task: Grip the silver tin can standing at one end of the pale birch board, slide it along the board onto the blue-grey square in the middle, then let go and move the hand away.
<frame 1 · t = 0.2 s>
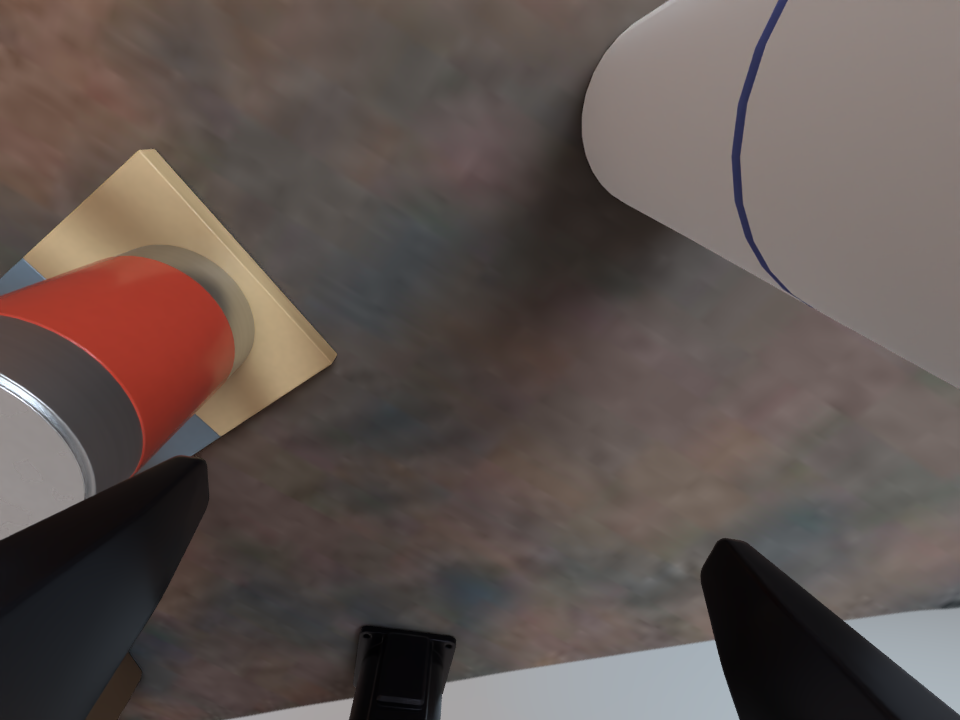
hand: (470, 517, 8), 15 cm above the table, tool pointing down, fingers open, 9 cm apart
beer bottle: (91, 660, 34), on the table
cylindrical container: (671, 115, 19), on the table
tin can: (181, 316, 21), point 1 cm above the table, touching board
board: (85, 391, 24), on the table
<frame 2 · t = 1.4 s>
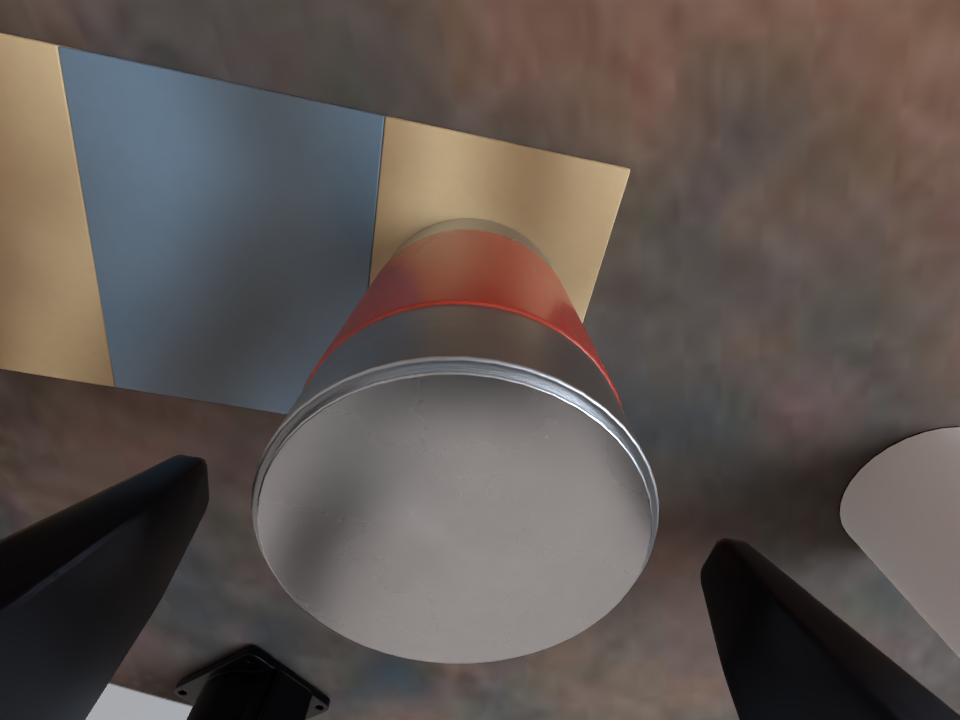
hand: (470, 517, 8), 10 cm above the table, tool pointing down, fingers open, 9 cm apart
cylindrical container: (919, 490, 22), on the table
tin can: (469, 312, 16), point 1 cm above the table, touching board
board: (245, 261, 17), on the table
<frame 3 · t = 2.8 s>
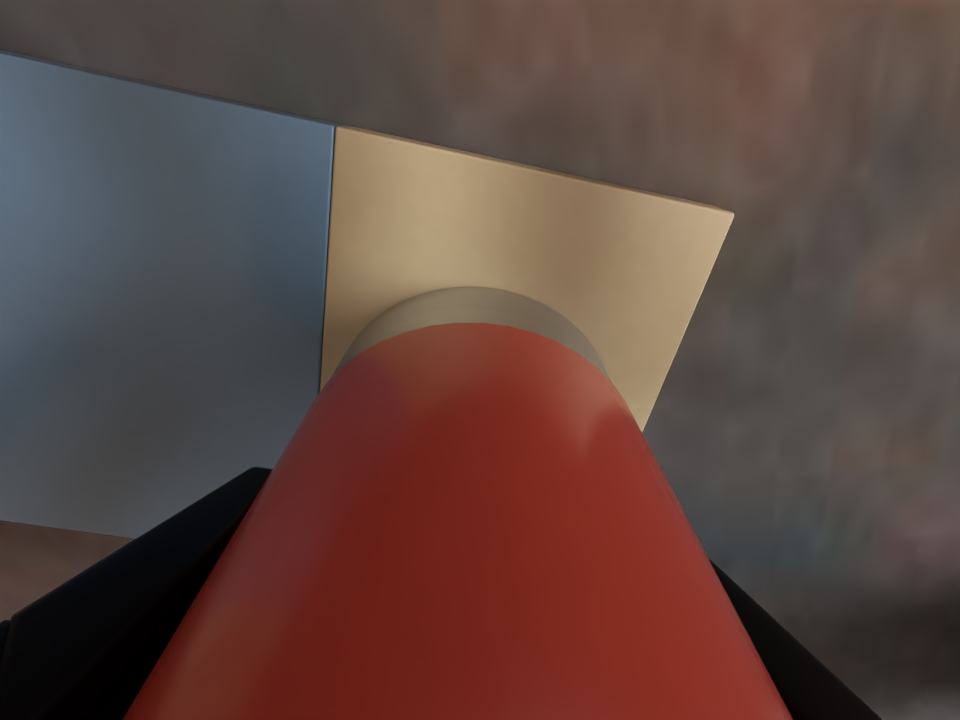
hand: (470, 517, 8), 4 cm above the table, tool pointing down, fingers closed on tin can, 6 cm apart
tin can: (471, 419, 11), point 1 cm above the table, touching board, gripper
board: (137, 339, 11), on the table
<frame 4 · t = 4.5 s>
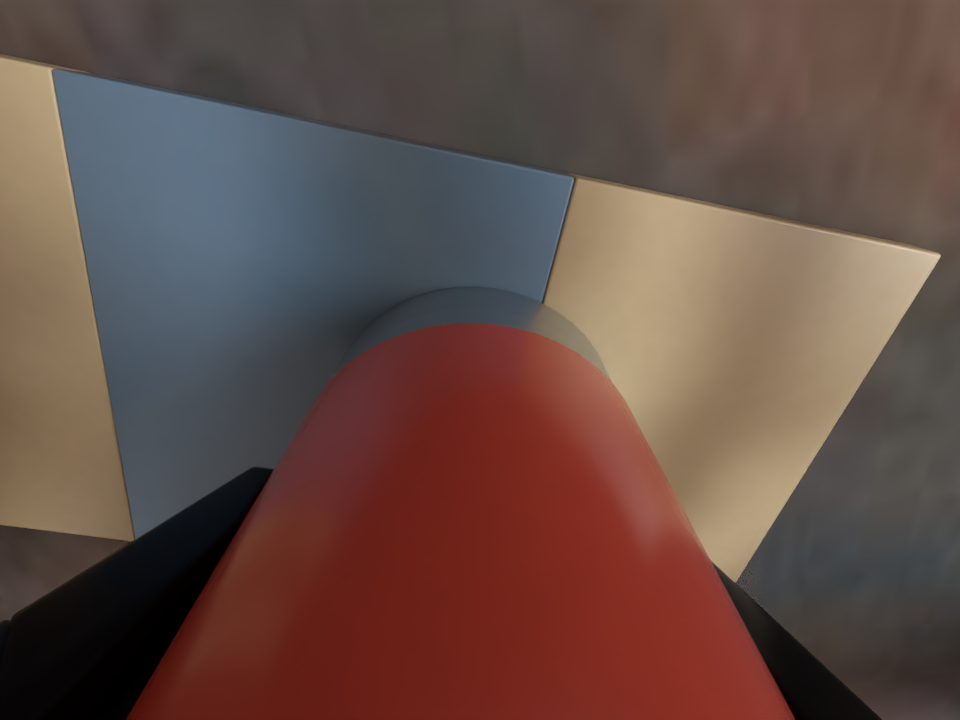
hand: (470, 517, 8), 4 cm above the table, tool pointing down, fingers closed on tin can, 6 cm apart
tin can: (472, 420, 11), point 1 cm above the table, touching gripper
board: (326, 373, 12), on the table
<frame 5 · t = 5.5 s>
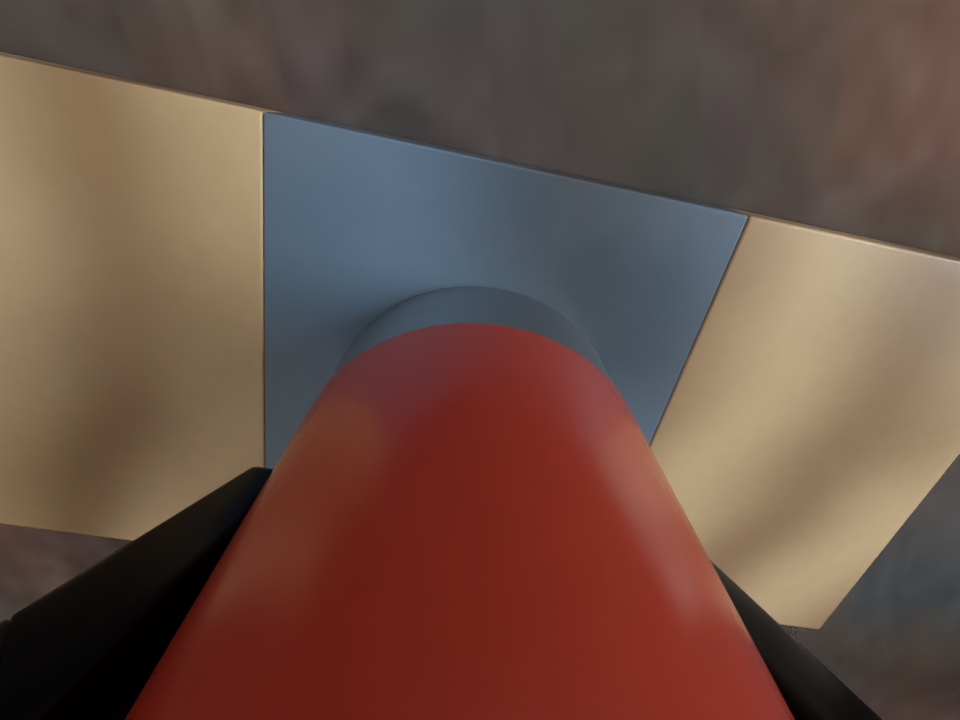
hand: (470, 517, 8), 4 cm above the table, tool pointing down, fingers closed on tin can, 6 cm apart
tin can: (471, 419, 11), point 1 cm above the table, touching gripper
board: (464, 395, 12), on the table
when the fingers open (4 cm above the table, at t = 6.2 s): tin can stays where it is, resting on board.
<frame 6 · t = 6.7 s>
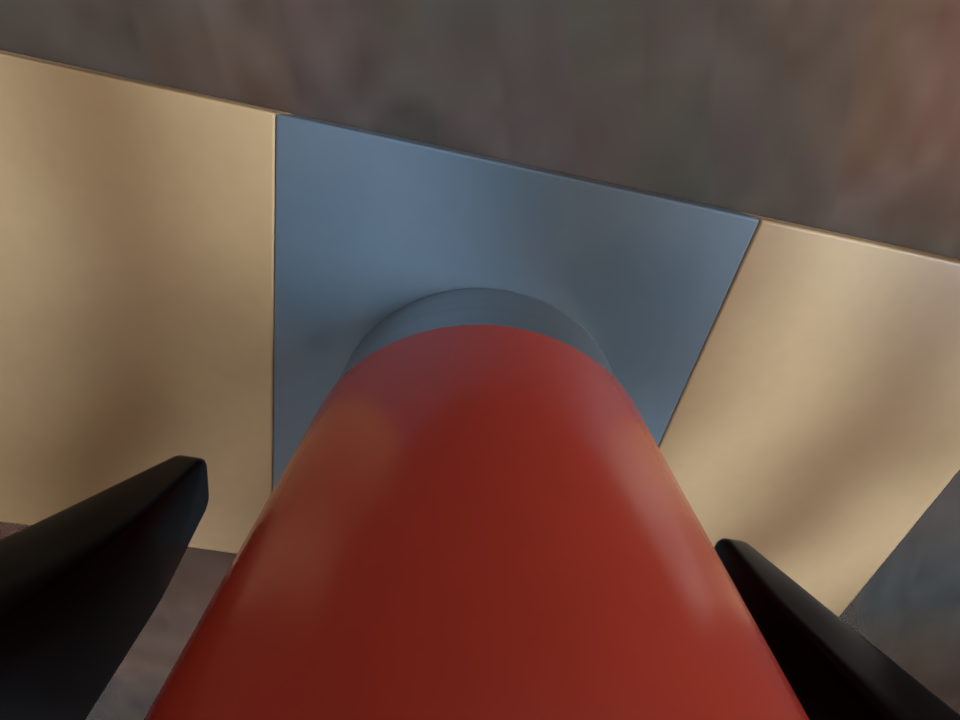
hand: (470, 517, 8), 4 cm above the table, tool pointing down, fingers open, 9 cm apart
tin can: (478, 421, 11), point 1 cm above the table, touching board
board: (472, 397, 12), on the table
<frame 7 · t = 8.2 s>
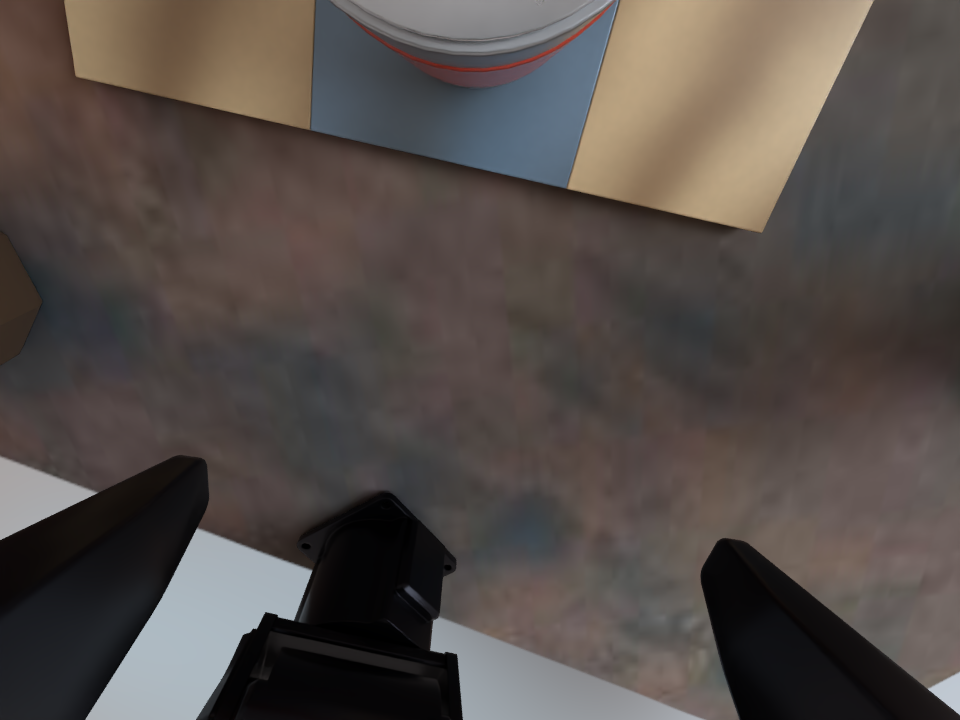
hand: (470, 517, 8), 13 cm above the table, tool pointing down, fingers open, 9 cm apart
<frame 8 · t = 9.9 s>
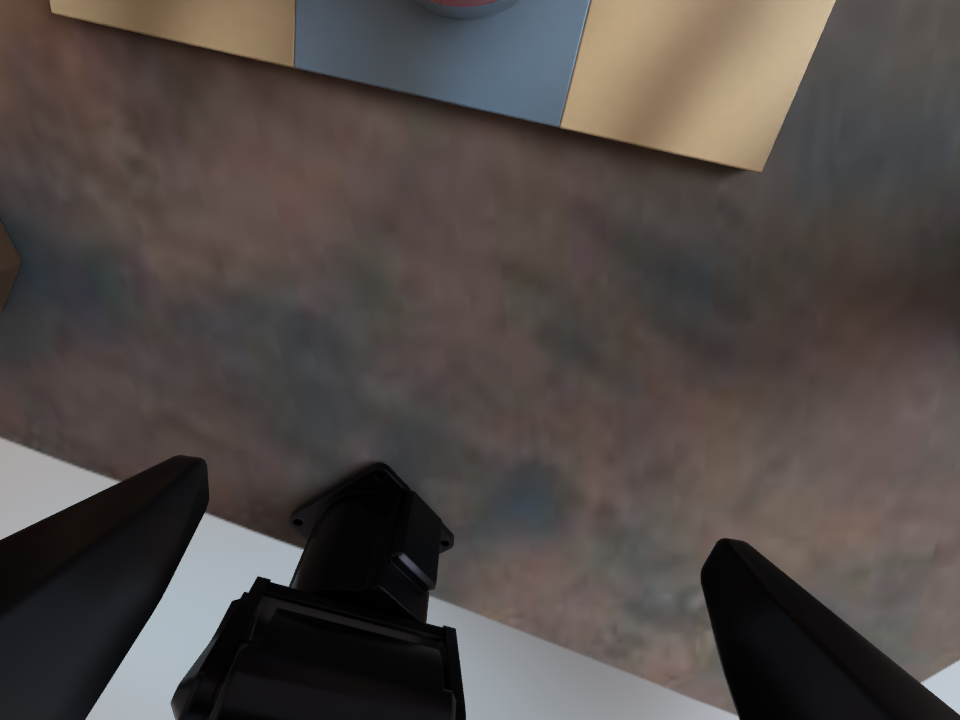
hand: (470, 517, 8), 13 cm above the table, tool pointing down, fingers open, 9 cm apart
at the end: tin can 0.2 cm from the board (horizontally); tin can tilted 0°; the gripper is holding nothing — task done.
